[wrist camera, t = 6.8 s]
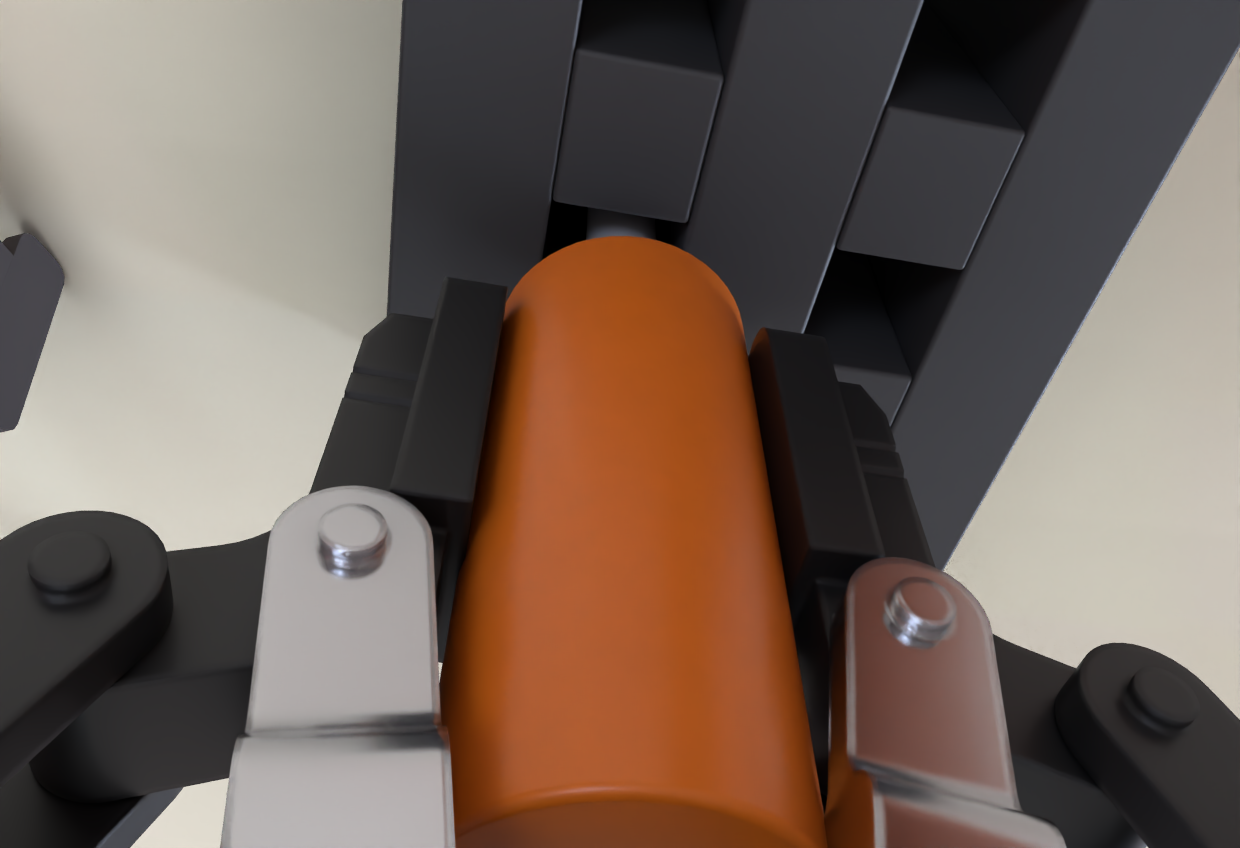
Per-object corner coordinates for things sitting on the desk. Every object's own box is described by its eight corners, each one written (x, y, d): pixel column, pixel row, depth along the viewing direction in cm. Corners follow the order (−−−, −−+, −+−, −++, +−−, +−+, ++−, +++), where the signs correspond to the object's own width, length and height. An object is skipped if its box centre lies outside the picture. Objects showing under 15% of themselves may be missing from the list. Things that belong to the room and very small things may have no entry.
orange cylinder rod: (732, 80, 16) (900, 819, 6) (689, 245, 18) (768, 1012, 8) (543, 45, 16) (417, 770, 6) (519, 217, 18) (395, 982, 8)
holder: (1138, -254, 15) (1376, -187, 10) (845, 435, 23) (903, 643, 19) (486, -409, 14) (422, -412, 9) (423, 373, 22) (372, 581, 17)
